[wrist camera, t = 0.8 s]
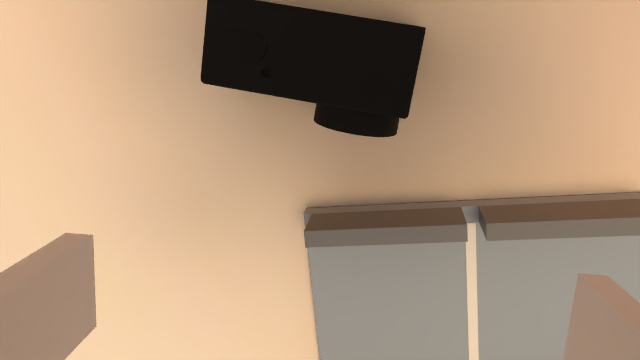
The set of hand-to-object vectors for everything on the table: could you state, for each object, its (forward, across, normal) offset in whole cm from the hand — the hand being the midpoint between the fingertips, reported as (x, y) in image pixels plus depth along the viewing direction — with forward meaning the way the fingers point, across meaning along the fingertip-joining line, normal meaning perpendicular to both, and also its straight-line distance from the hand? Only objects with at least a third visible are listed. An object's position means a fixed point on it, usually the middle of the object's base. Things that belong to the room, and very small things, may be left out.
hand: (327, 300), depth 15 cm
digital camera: (+20, -2, +6) cm, 21 cm away
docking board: (+20, +9, -11) cm, 24 cm away
